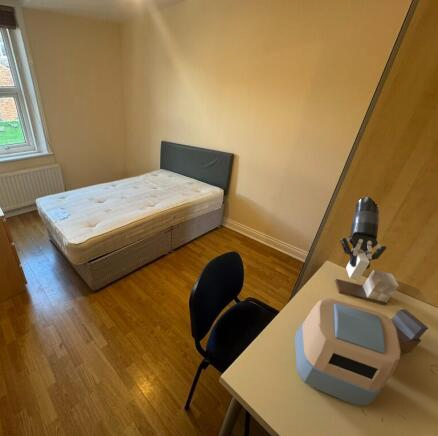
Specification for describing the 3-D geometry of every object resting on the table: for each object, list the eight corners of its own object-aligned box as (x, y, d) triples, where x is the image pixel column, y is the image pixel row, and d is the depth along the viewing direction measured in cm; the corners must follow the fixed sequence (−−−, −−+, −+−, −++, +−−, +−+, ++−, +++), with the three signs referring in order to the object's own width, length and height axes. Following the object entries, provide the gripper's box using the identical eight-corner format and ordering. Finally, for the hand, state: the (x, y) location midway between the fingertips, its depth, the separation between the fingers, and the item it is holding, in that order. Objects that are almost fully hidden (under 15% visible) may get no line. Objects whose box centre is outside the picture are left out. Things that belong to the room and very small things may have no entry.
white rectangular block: (354, 269, 92) (364, 252, 88) (358, 280, 87) (369, 262, 83) (345, 267, 94) (355, 250, 89) (349, 278, 89) (360, 260, 84)
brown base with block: (378, 292, 93) (391, 273, 87) (385, 305, 87) (399, 286, 82) (335, 280, 98) (345, 262, 93) (338, 292, 92) (349, 274, 87)
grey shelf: (387, 330, 78) (405, 307, 72) (410, 352, 72) (432, 329, 66) (337, 333, 77) (352, 311, 72) (356, 356, 71) (374, 333, 65)
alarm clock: (293, 385, 64) (324, 334, 53) (291, 334, 77) (315, 285, 66) (369, 417, 58) (423, 368, 46) (352, 356, 71) (391, 305, 59)
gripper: (347, 218, 89) (340, 261, 86) (394, 226, 84) (389, 272, 80) (338, 223, 96) (332, 263, 92) (382, 231, 90) (377, 274, 87)
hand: (359, 267), depth 86 cm, fingers closed on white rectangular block, 3 cm apart
